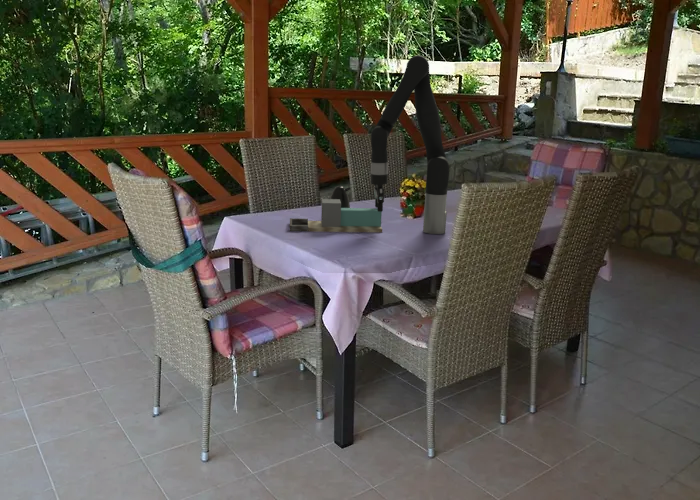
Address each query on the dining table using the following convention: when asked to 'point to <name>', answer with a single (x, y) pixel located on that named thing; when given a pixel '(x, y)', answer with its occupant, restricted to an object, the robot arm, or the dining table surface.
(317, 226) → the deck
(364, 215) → the teal pillar
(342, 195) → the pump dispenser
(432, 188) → the robot arm
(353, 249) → the dining table surface
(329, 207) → the tunnel
